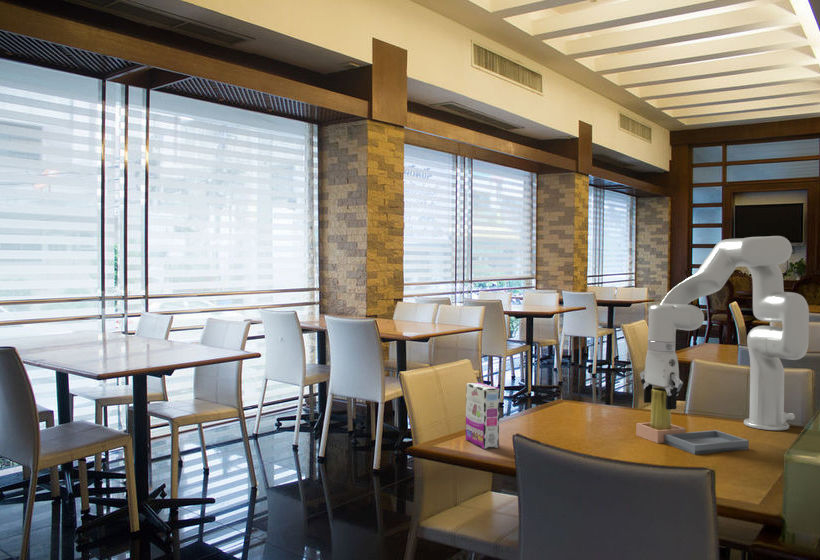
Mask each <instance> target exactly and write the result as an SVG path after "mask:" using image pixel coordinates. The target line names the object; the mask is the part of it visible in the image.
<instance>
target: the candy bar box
mask: <svg viewBox="0 0 820 560" xmlns="http://www.w3.org/2000/svg"><path fill="white" fill-rule="evenodd" d="M465 391H466V392H465V393H466V394H465V396H466V397H465V441H467V442H470V443H471V444H472V445H473V444H474V445H475V446H477V447H479V448H481V449H483V450H489V449H496V448H497V449H498V448H499V447H500V441H499V437H500V391H501V389H500V388H498V387H495V386H493V385H489V384H485V383H483V382H468V383H466V387H465Z"/></svg>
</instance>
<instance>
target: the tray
mask: <svg viewBox="0 0 820 560" xmlns="http://www.w3.org/2000/svg"><path fill="white" fill-rule="evenodd" d="M749 442H750V441H749V439H746V438H743V437H740V436H739V437H738V436H737V435H733V434H730V433H726V432H722V431H720V430H716V429H714V430H702V431H689V432H686V433H675V434H665V440H664V443H663V444H665V445H668V446H671V447H673V448H676V449H679V450H682V451H683V452H686V453H690V454H691V455H696V456H697V455H704V454H715V453H717V454H718V453H725V452H736V451H737V452H738V451H745V450H746V451H747V450H749V447H750V446H749Z"/></svg>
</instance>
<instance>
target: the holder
mask: <svg viewBox="0 0 820 560" xmlns="http://www.w3.org/2000/svg"><path fill="white" fill-rule="evenodd" d="M650 423H651V421H649V422H638V423H635V424H636V425H635V426H636V427H635V428H636V429H635V431H636V432H635V435H636V436H637V437H640V438H643V439H645V440H648V441H651V442H653V443H656V444H665V443H664V440H665V434H675V433H687V432H686V430H687V429H686V428H684V427H682V426H678V425H675V424H672V423H671V429H667V430H656V429H653V428H651V427H650Z"/></svg>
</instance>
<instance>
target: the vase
mask: <svg viewBox="0 0 820 560" xmlns="http://www.w3.org/2000/svg"><path fill="white" fill-rule="evenodd" d="M666 395H668V394H667V391H666V389H665V388H663V387H653V388H652V399H651V403H650V422H651V423H650V427H651V428H653V429H656V430H667V429H671V424H672V409H671V410H668V409H666Z"/></svg>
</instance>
